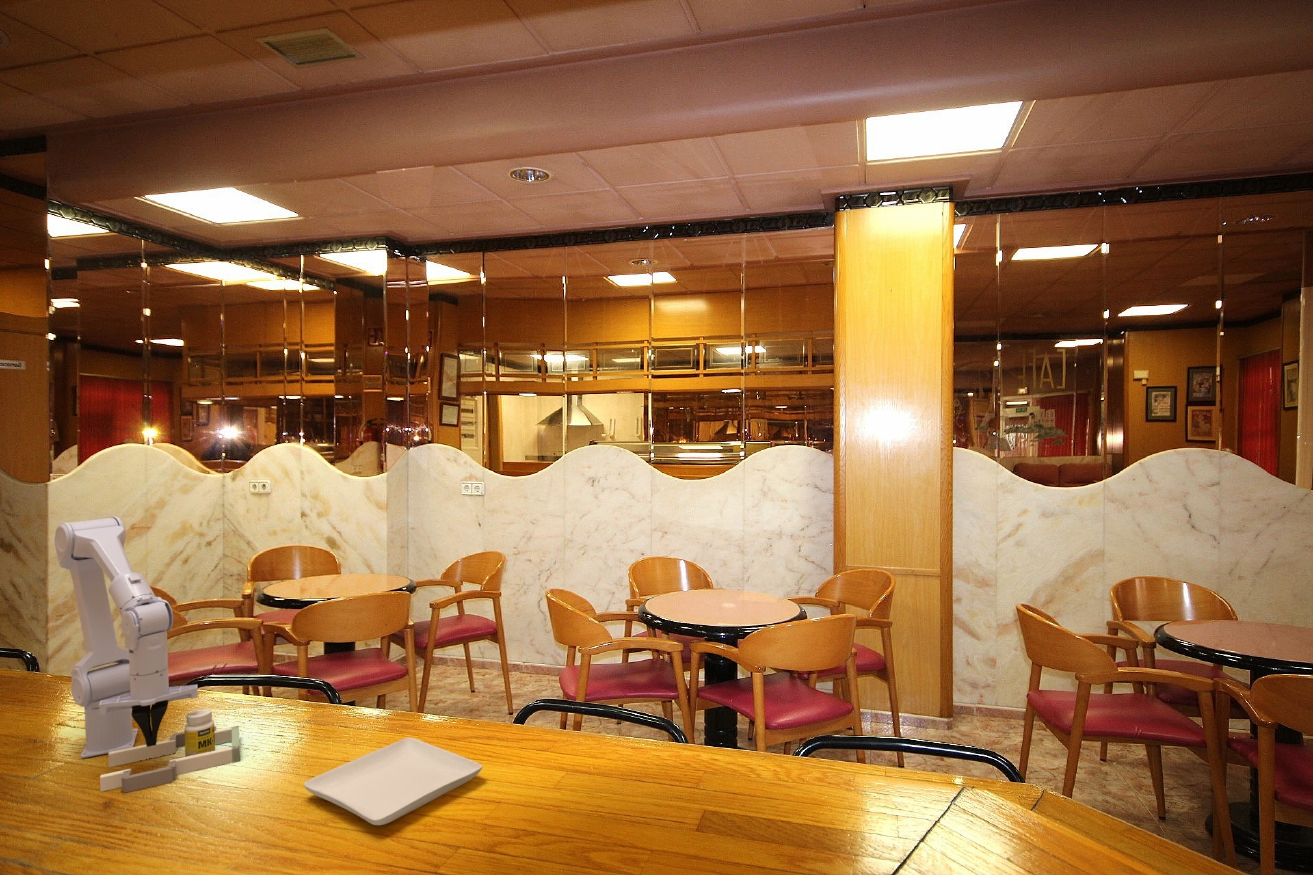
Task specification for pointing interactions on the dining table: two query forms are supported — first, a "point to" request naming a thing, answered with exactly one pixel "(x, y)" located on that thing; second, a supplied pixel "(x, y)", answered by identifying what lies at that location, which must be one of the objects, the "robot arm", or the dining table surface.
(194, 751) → the supplement bottle
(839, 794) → the dining table surface
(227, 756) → the beige piece
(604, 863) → the dining table surface
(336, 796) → the salad plate
